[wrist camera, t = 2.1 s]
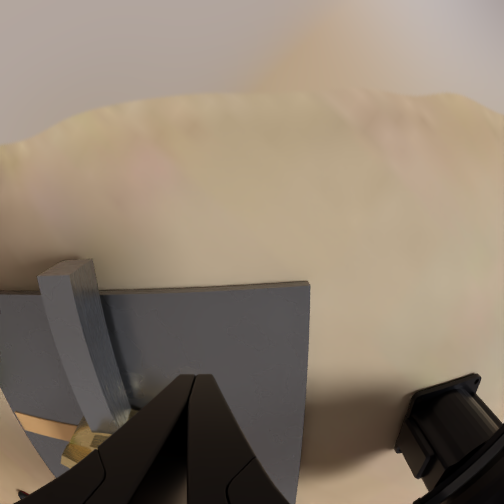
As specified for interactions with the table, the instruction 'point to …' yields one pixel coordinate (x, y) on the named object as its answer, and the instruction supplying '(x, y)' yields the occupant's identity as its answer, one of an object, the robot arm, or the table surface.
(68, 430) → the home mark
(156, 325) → the plate
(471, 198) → the table surface
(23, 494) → the handheld game console
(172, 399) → the robot arm
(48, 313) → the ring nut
